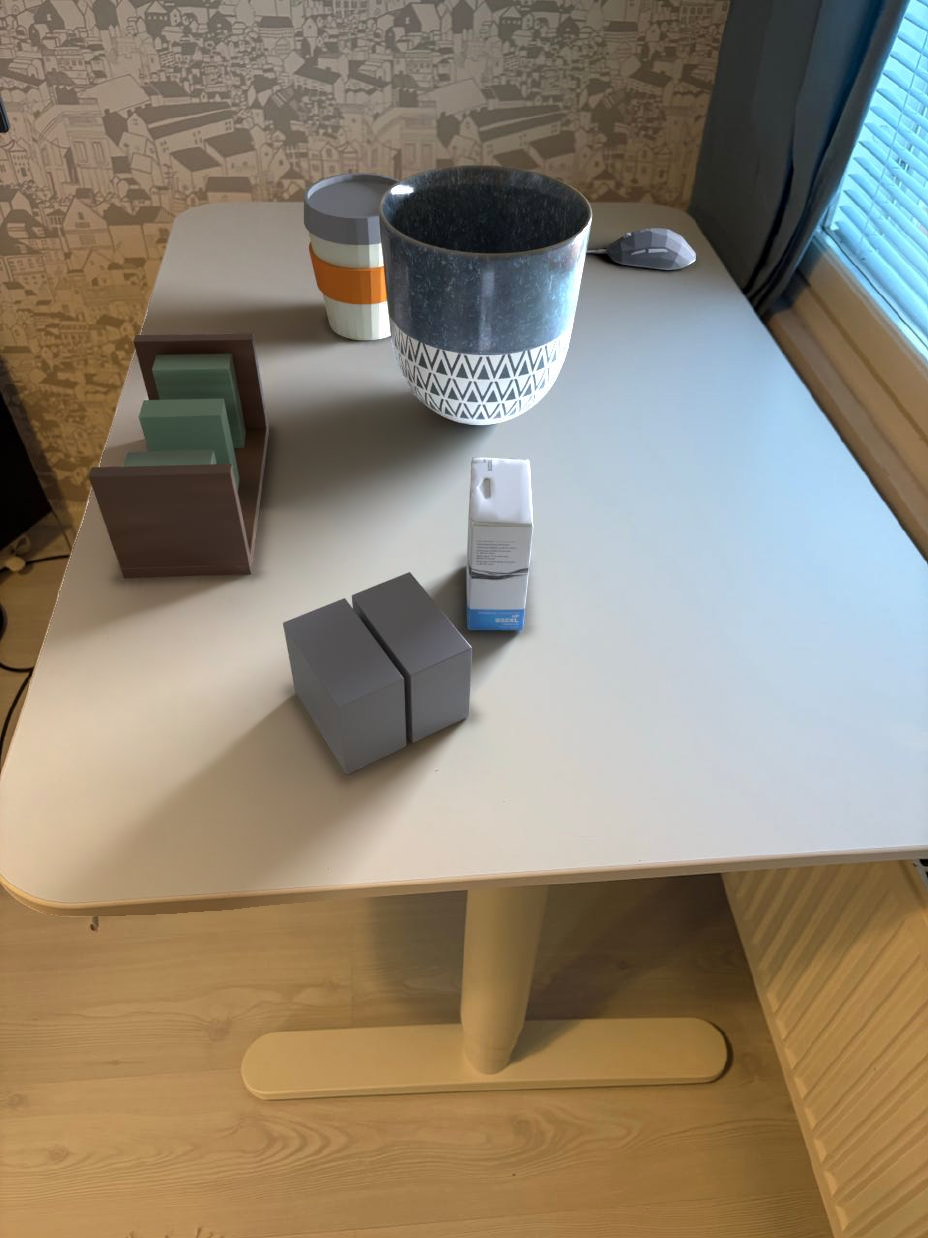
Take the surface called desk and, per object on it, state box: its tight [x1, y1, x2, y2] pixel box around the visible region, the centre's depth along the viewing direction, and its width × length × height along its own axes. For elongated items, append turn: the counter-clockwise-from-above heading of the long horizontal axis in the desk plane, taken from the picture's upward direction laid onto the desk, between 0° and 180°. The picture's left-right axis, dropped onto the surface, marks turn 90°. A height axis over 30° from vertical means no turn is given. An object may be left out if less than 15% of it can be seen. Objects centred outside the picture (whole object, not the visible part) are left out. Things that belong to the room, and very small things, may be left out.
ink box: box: [466, 456, 534, 631], centre depth 75 cm, size 8×5×12 cm, turn 179°
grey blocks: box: [282, 571, 473, 776], centre depth 68 cm, size 10×9×8 cm
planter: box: [378, 164, 593, 426], centre depth 91 cm, size 20×20×21 cm
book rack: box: [87, 332, 270, 579], centre depth 83 cm, size 21×11×11 cm, turn 4°
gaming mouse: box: [586, 227, 697, 271], centre depth 122 cm, size 6×15×4 cm, turn 81°
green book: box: [138, 399, 240, 491], centre depth 83 cm, size 3×7×9 cm, turn 94°
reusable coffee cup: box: [303, 172, 401, 341], centre depth 105 cm, size 13×13×15 cm
